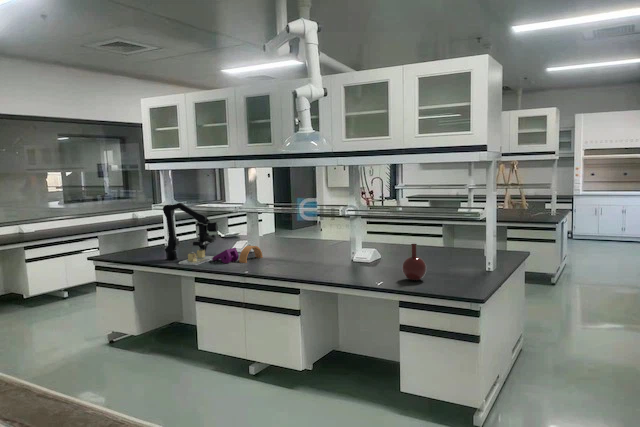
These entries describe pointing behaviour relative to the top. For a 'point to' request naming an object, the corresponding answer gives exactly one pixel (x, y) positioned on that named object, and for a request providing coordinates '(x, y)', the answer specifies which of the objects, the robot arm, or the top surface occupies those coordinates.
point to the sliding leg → (200, 253)
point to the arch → (246, 250)
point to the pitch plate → (197, 261)
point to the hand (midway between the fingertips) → (204, 253)
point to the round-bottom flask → (414, 266)
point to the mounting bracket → (227, 255)
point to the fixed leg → (192, 256)
